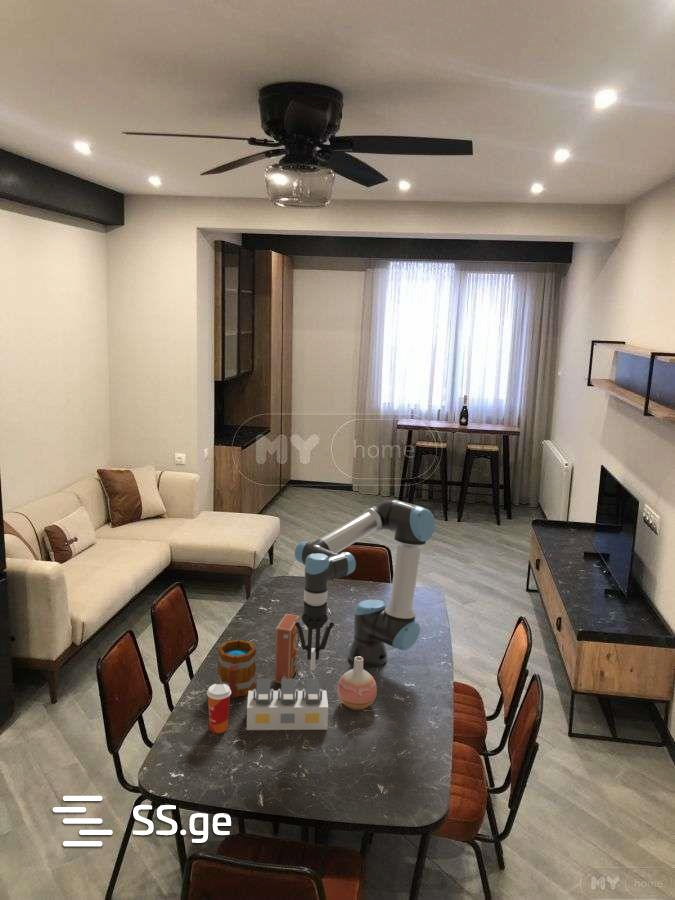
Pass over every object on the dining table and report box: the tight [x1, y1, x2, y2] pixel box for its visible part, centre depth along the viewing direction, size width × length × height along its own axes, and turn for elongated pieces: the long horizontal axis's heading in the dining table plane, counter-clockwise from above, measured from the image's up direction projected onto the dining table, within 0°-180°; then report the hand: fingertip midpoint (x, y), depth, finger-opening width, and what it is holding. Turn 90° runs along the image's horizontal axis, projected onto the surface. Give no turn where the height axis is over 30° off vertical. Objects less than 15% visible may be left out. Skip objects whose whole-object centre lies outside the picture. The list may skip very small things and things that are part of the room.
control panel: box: [274, 613, 301, 684], centre depth 259 cm, size 21×7×15 cm
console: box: [246, 688, 329, 731], centre depth 231 cm, size 26×10×11 cm, turn 95°
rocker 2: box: [280, 678, 296, 704], centre depth 230 cm, size 5×9×2 cm, turn 5°
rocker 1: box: [255, 678, 271, 704], centre depth 229 cm, size 5×9×2 cm, turn 5°
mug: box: [217, 638, 257, 698], centre depth 247 cm, size 20×14×15 cm
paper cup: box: [206, 683, 231, 734], centre depth 225 cm, size 8×8×14 cm
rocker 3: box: [304, 678, 321, 704], centre depth 231 cm, size 5×9×2 cm, turn 5°
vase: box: [336, 656, 378, 711], centre depth 241 cm, size 14×14×18 cm
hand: (312, 668), depth 233 cm, fingers closed
